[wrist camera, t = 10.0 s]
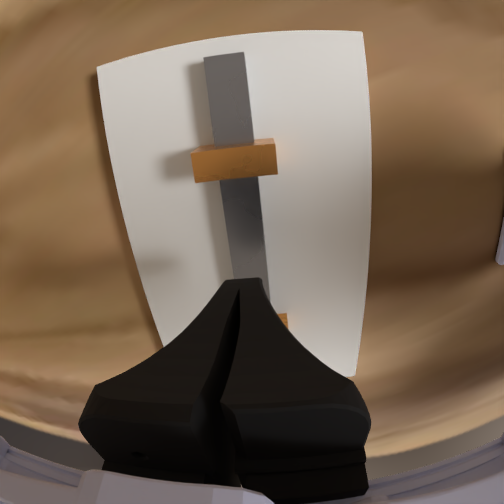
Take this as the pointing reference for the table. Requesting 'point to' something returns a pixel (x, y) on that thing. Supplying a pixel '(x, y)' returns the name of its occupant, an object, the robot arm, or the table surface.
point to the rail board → (271, 186)
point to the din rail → (237, 165)
